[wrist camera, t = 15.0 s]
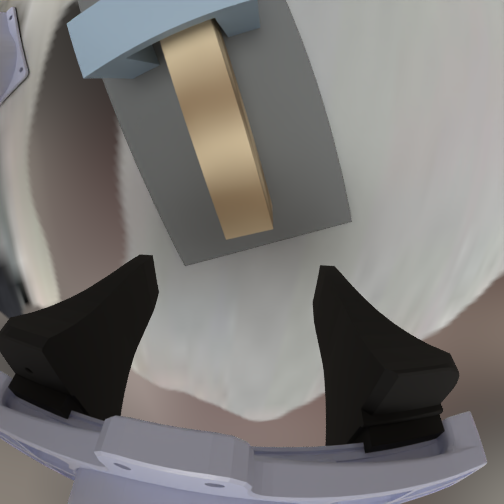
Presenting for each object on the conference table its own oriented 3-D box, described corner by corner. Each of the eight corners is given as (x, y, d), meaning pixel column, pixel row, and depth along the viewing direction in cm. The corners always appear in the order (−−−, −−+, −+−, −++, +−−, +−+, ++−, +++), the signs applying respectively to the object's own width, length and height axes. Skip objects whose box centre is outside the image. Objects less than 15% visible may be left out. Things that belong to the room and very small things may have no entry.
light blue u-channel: (117, 35, 15) (66, 23, 9) (240, -18, 13) (230, -58, 7) (133, 78, 17) (83, 78, 11) (260, 27, 15) (257, -2, 9)
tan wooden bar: (165, 3, 14) (143, -13, 10) (206, -12, 13) (192, -33, 10) (232, 214, 22) (225, 240, 18) (272, 205, 21) (273, 230, 18)
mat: (62, -81, 6) (60, -82, 6) (196, -143, 3) (195, -145, 3) (186, 263, 25) (184, 266, 24) (350, 219, 22) (351, 221, 21)
